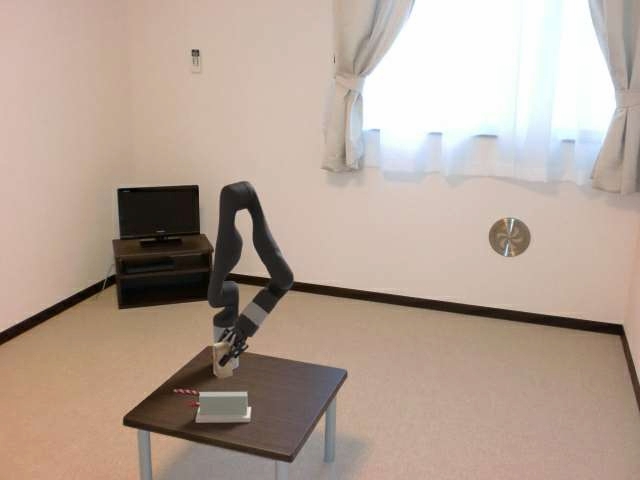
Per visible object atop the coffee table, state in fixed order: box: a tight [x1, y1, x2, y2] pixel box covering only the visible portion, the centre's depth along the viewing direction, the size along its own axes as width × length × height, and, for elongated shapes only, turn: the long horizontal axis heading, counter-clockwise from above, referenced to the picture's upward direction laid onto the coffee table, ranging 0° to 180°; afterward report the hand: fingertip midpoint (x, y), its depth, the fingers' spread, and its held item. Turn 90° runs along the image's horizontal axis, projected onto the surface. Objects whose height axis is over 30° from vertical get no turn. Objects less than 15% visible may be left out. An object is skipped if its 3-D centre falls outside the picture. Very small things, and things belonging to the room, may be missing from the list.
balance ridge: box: [195, 391, 252, 424], centre depth 201 cm, size 7×17×8 cm, turn 92°
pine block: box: [212, 342, 234, 379], centre depth 197 cm, size 4×4×10 cm
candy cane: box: [173, 388, 201, 407], centre depth 214 cm, size 8×1×15 cm
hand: (217, 362), depth 196 cm, fingers closed on pine block, 4 cm apart
